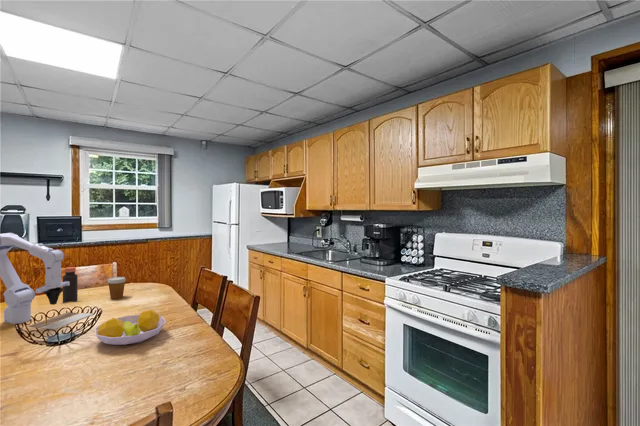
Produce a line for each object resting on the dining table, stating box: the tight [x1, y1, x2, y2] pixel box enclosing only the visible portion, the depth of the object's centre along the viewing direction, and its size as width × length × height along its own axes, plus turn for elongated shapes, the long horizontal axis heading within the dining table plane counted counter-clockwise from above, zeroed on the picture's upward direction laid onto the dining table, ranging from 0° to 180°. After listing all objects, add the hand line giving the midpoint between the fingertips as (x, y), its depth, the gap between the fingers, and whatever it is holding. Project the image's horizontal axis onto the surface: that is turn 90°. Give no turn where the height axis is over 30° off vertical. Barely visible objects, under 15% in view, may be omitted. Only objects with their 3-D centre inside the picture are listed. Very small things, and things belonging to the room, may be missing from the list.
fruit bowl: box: [94, 309, 167, 346], centre depth 135 cm, size 28×27×11 cm
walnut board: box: [26, 311, 80, 329], centre depth 152 cm, size 7×20×1 cm, turn 170°
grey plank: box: [41, 312, 95, 330], centre depth 151 cm, size 8×20×1 cm, turn 170°
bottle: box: [62, 266, 79, 304], centre depth 182 cm, size 7×7×20 cm
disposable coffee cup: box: [107, 276, 127, 300], centre depth 192 cm, size 10×10×12 cm
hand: (53, 304), depth 150 cm, fingers closed
